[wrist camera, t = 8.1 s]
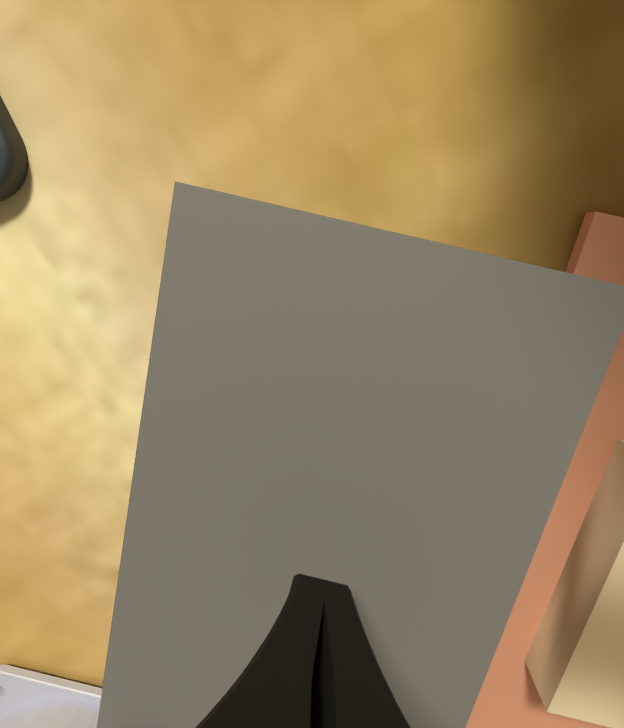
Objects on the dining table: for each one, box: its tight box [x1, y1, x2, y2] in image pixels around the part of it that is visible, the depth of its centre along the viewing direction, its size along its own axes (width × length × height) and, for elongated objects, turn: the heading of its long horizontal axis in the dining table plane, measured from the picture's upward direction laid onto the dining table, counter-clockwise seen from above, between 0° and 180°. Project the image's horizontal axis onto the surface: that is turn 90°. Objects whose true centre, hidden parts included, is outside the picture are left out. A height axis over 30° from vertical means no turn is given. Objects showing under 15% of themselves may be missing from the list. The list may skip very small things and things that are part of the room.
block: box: [97, 182, 624, 728], centre depth 15 cm, size 18×11×4 cm, turn 167°
